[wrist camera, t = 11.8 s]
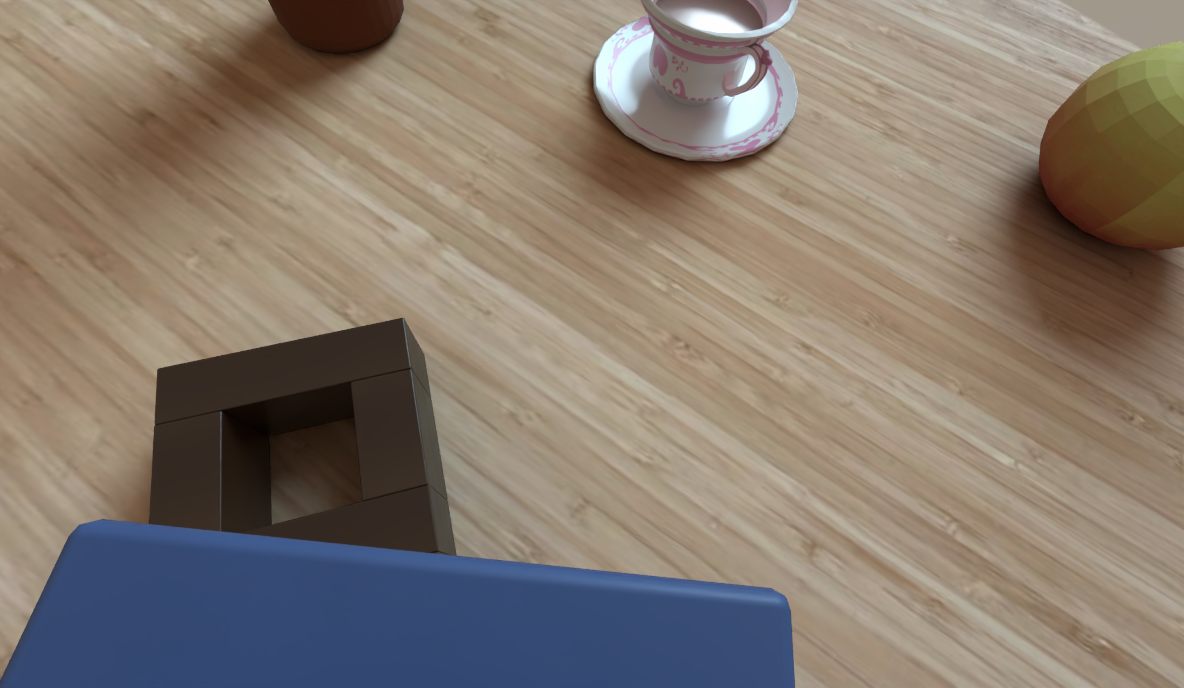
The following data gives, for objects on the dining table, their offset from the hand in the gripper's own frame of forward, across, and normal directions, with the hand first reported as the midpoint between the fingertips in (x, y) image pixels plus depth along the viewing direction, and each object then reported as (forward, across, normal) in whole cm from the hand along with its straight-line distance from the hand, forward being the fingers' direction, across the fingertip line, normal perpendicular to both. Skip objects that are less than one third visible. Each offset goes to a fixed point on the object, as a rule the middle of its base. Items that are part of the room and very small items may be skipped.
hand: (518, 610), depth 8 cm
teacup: (+30, -5, -10) cm, 32 cm away
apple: (+26, -28, -6) cm, 38 cm away
